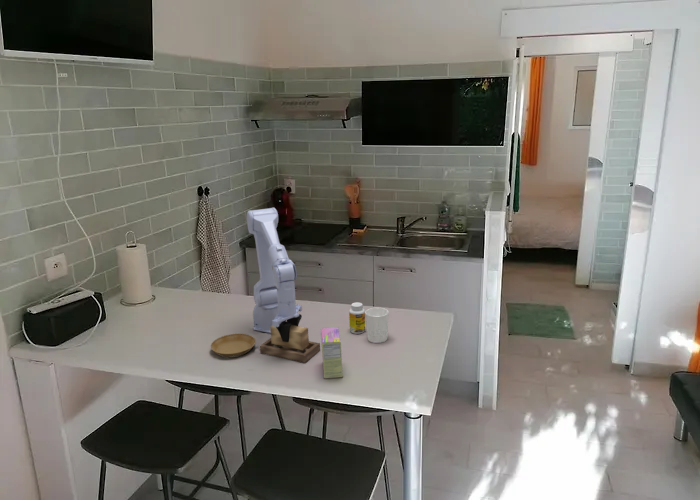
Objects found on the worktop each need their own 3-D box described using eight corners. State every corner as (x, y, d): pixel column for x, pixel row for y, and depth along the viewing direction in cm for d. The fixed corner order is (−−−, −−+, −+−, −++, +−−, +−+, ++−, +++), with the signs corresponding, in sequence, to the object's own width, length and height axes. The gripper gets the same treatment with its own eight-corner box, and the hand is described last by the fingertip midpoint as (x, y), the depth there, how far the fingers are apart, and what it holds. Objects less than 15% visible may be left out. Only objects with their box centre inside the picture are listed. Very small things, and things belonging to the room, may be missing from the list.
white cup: (392, 336, 186) (391, 309, 183) (384, 345, 179) (383, 317, 176) (371, 332, 189) (370, 306, 186) (362, 341, 182) (361, 314, 180)
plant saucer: (265, 345, 183) (264, 338, 182) (236, 364, 170) (235, 357, 170) (231, 337, 190) (230, 330, 189) (201, 355, 177) (201, 347, 177)
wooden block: (271, 343, 177) (270, 326, 175) (278, 338, 181) (277, 322, 179) (302, 350, 172) (301, 332, 170) (309, 344, 175) (308, 327, 174)
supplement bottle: (355, 335, 187) (354, 308, 184) (346, 330, 191) (345, 303, 189) (368, 331, 190) (367, 304, 187) (359, 326, 194) (358, 300, 191)
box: (322, 362, 169) (320, 328, 166) (340, 361, 170) (338, 326, 166) (323, 379, 159) (321, 342, 156) (342, 377, 160) (341, 341, 156)
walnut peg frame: (260, 353, 177) (259, 345, 176) (276, 341, 185) (275, 334, 184) (305, 363, 169) (304, 355, 168) (320, 350, 177) (319, 343, 176)
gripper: (284, 309, 164) (287, 350, 168) (309, 294, 176) (311, 331, 180) (265, 306, 167) (268, 346, 171) (290, 291, 179) (293, 328, 183)
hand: (289, 338), depth 176 cm, fingers closed on wooden block, 4 cm apart
